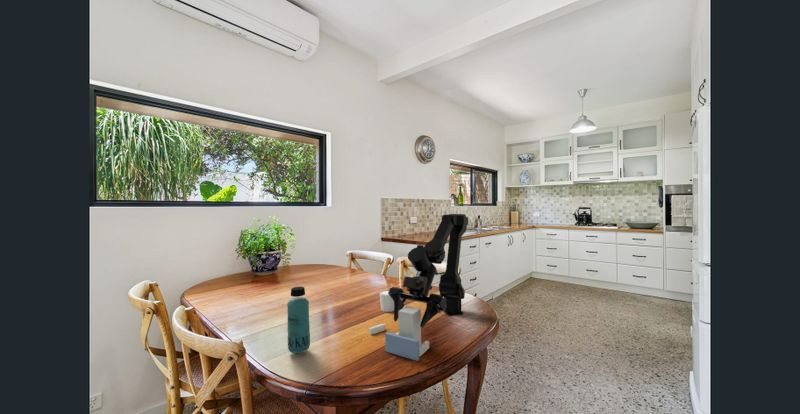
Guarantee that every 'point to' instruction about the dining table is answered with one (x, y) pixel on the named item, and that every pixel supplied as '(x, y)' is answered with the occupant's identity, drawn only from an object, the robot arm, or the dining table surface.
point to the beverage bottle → (298, 321)
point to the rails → (378, 329)
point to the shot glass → (386, 301)
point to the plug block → (410, 323)
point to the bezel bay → (404, 346)
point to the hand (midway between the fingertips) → (407, 323)
